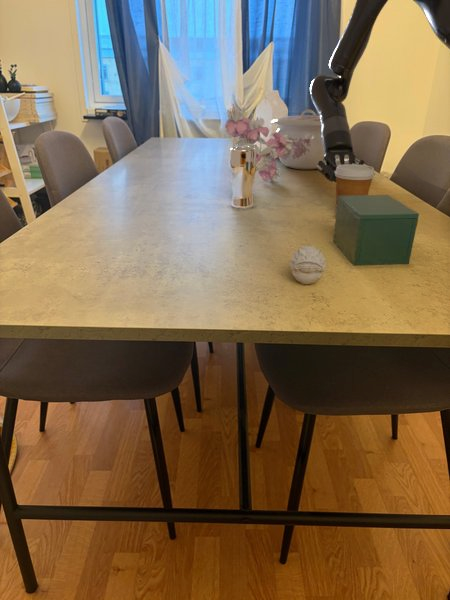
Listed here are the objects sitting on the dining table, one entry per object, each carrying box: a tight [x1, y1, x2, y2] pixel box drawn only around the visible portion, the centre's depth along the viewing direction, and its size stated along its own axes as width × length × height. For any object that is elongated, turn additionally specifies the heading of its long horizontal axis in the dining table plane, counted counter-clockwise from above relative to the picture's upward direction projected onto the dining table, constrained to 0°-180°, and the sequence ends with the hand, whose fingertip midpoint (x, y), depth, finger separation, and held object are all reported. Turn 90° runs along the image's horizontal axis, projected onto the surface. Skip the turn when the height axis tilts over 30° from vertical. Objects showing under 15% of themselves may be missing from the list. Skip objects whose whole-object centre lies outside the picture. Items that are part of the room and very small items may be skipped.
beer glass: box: [229, 146, 257, 209], centre depth 115 cm, size 7×7×15 cm
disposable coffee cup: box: [334, 163, 376, 214], centre depth 107 cm, size 10×10×12 cm
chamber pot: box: [271, 108, 324, 171], centre depth 165 cm, size 28×28×21 cm
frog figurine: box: [288, 245, 327, 285], centre depth 72 cm, size 6×7×7 cm
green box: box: [332, 201, 419, 266], centre depth 85 cm, size 14×11×9 cm
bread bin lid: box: [337, 194, 420, 219], centre depth 83 cm, size 14×11×1 cm
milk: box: [254, 89, 289, 152], centre depth 202 cm, size 12×12×26 cm
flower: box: [224, 103, 292, 182], centre depth 138 cm, size 20×22×25 cm
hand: (344, 193), depth 112 cm, fingers closed
